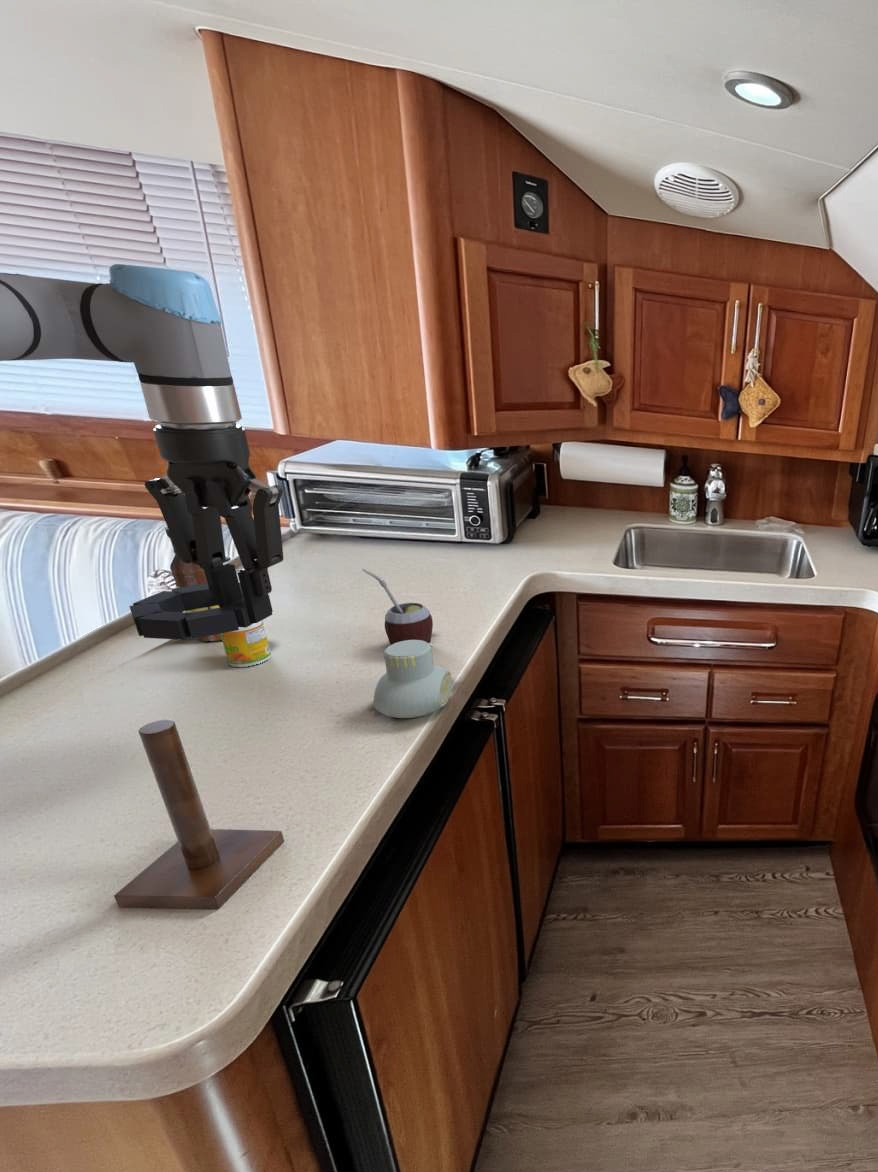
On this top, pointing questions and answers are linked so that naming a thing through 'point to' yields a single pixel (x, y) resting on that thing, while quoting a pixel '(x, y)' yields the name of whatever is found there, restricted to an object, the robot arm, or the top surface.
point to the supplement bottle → (246, 645)
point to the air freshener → (411, 681)
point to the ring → (187, 614)
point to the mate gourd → (406, 619)
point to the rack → (192, 839)
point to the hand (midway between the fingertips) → (248, 617)
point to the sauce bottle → (189, 580)
